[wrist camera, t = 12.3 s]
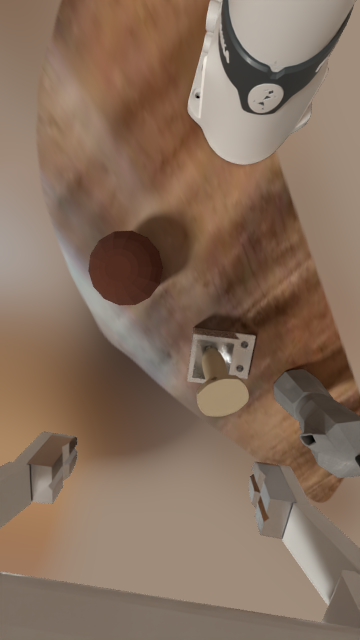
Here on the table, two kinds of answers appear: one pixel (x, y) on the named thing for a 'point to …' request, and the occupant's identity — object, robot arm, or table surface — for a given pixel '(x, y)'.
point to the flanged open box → (228, 344)
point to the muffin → (125, 268)
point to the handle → (219, 387)
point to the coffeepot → (321, 422)
